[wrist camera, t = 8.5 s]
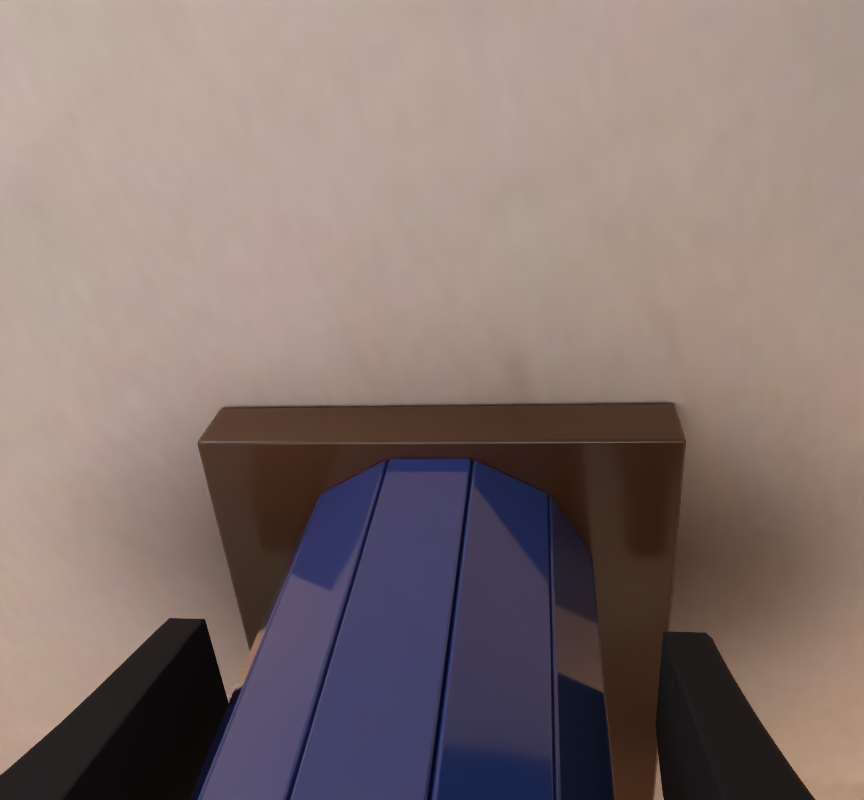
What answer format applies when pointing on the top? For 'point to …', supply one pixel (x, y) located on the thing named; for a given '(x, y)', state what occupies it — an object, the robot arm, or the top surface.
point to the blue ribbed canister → (423, 651)
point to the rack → (506, 452)
